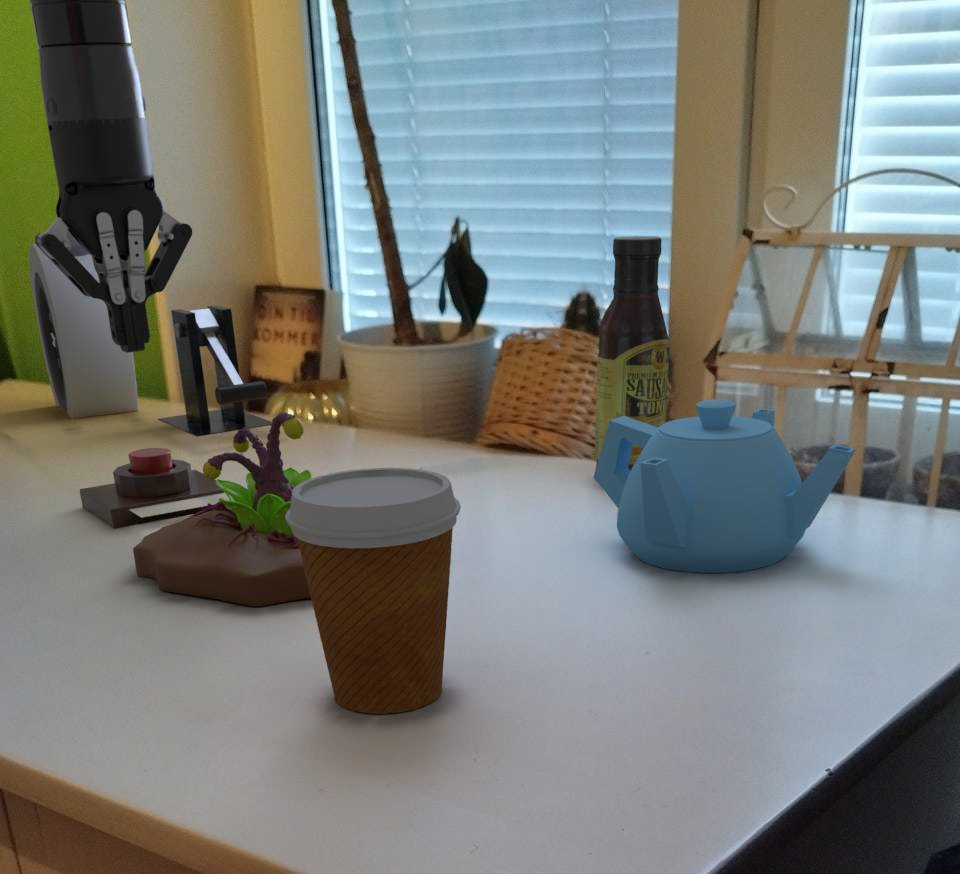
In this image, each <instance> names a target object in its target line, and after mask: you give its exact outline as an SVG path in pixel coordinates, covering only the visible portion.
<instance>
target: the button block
mask: <svg viewBox="0 0 960 874" xmlns="http://www.w3.org/2000/svg"><path fill="white" fill-rule="evenodd" d="M172 465H173V469H171V470H168V471H164V472H158V473H145V474H138V473H131V467H130V462H129V463H126V464H122V465H120V466H118V467H116V468H115V470H113V471H112V475H113V481H114V482H113V483H107V484H102V485H96V486H89V487H83V488H80V489H79V494H80V501H81V505H82V506H81V507H82V508H83V510H86V511H87V512H88V513H90V514H91V515H93V516H94V517H96V518H97V519H99V520H100V521H102V522H103V523H104V524H106V525H108V526H109V527H110V528H112V529H114V530H116V529H122V528H126V527H133V526H138V525H143V524H148V523H154V522H159V521H164V520H170V519H175V518H181V517H186V516H192V515H194V514H196V513H198V511H199V512H200V511H203V510H204V509H206V508H207V505H203V506H201V507H202V508H204V509H202V508H199V507H200V506H197V507H193V508H187V509H180V510H176V511H169V512H165V513H158V514H154V515H148V516H143V517H142V516H139V515H138V514H136V513H135V512H133V511H132V510H133V509H139V508H145V507H150V506H154V505H155V506H156V505H162V504H166V503H173V502H179V501H184V500H191V499H196V498H201V497H206V496H213V495H217V494H218V495H219V494H225V492H224V491H223V490H222V489H221V488H219V487H218V486H217V485H216V480H217V479H213V480H212V479H205V475H204V473H203V472H201V471H198V470H197V469H192V465H191V463H189V462H187V461H186V460H182V459H173V458H172ZM215 504H216V503H215ZM215 504H211V505H212V506H215ZM209 506H210V505H209Z"/></svg>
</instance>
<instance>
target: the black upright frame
mask: <svg viewBox="0 0 960 874" xmlns="http://www.w3.org/2000/svg"><path fill="white" fill-rule="evenodd" d="M206 309H210V311H211V313H212V314H213V316H214V318H215V319H216V321H217V323H218V325H219V334H218V340H219V342H220V344H221V346H222V347H223V349H224V351H225V353H226V354H227V356H228V358H229V359H230V361H231V363H232V365H233V366H234V368H235V370H236V372H237V373H238V375H239V377H240V368H239V362H238V361H239V360H238V354H237V344H236V337H235V336H236V335H235V329H234V321H233V312H232V309H231V308H230V307H224V306H220V305H215V304H214V305H207V306H206ZM170 310H171V311H170V312H171V319H172V320H171V321H172V325H173V333H174V339H175V345H176V354H177V360H178V366H179V367H178V368H179V375H180V381H181V388H182V394H183V395H182V396H183V401H184V408H185V414H181V415H173V416H168V417H166V416H165V417H160V418H157V420H158V421H160V422H162V423H165V424H167V425H170V426H172V427H174V428H177V429H178V430H181V431H183V432H185V433H188V434H190V435H192V436H195V437H202V436H203V437H204V436H210V435H216V434H223V433H228V432H235V431H239V430H241V429H243V428H245V429H246V428H247V429H254V428H261V427H267V426H271V424H272V423H273V422H272V421H271V420H268V419H265V418H263V417H260V416H257V415H255V414H252V413H250V412H246V411H245V410H244V401H242V402H235V403H229V404H222V405H219V407H220V409H214V410H209V405H208V399H207V398H208V397H207V392H206V391H207V390H206V384H205V378H204V377H205V376H204V369H203V361H202V355H201V347H200V346H199V339H198V332H197V324H196V317H195V313H193V312H190V310H189V311H188V310H185V309H179V308H177V309H170ZM213 361H214V369H215V376H216V383H217V387H223V386H229V385H228V383H227V381H226V379H225V378H224V376H223V374H222V372H221V371H220V369H219V367H218V365H217V364H216V362H215V360H214V359H213ZM240 378H241V377H240Z"/></svg>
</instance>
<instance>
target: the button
mask: <svg viewBox="0 0 960 874" xmlns="http://www.w3.org/2000/svg"><path fill="white" fill-rule="evenodd" d="M172 459H173V458H172V452H171V450H170V449H169V448H165V447H148V448H147V447H145V448H141V449H136V450H133V451H130V452H128V461H129V463H130V467H131V473H138V474H145V473H158V472H164V471H168V470H171V469H173V465H172Z"/></svg>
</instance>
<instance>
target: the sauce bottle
mask: <svg viewBox="0 0 960 874" xmlns="http://www.w3.org/2000/svg"><path fill="white" fill-rule="evenodd" d="M612 241H613V243H612V255H613V258H614V273H613V275H614V280H613V287H612V290H613V298H612V300H611V301H610V302H609V303H610V304H609V305H608V307H607V308H606V310H605V311H604V314H603V316H602V317H601V320H600V325H599V330H598V354H597V356H596V358H597V359H596V394H595V396H596V398H595V423H594V424H595V426H594V427H595V430H594V458H595V459H596V462H595V463H596V465H595V468H596V467H597V463H598V460H599V456H600V453H601V449H602V446H603V443H604V439H605V436H606V432H607V429H608V425H609V422H610V420H613V419H616V418H619V417H622V416H626V417H629V418H632V419H635V420H637V421H640V422H643V423H646V424H649V425H652V426H655V427H658V428H659V427H660V426H661V425H662V424H664V423H666V422H667V404H668V388H669V387H668V386H669V363H670V343H671V342H670V341H671V340H670V337H669V334H668V331H667V326H666V322H665V317H664V314H663V309H662V305H661V301H660V297H659V284H658V282H659V262H660V257H661V255H662V238H661V237H660V236H655V235H654V236H650V235H649V236H646V235H645V236H641V235H640V236H638V235H637V236H618V237H614V238H613V239H612ZM643 449H644V448H642V447H640V446H638V445H636V444H634V443H633V445H632V450H631V455H630V460H629V465H628V469H629V470H630V471H631V470H632V468H633V466H634V464H635V462H636V460H637V459H638V457H639V455H640V454H641V452H642V450H643Z"/></svg>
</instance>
